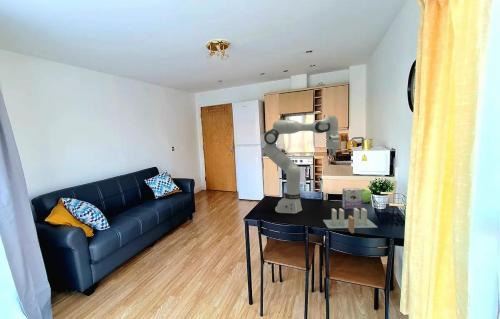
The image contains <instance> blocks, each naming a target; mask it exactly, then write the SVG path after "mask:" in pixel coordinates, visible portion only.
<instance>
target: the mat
mask: <svg viewBox="0 0 500 319" xmlns="http://www.w3.org/2000/svg"><path fill="white" fill-rule="evenodd" d="M322 221H323V223H324V224H325V225H326V227H327V228H328V229H348V218H346V219H345V218H344V225H341V224H340V223H339V219H337V225H333V223H332V219H323V220H322ZM358 228H359V229H360V228H361V229H363V228H364V229H366V228H378V226H377V225H376V224H375V223H374V222H372V221H371V220H370V219H369V218H367V225H364V224H363V223H362V222H361V218H359V225H356V224H355V223H354V229H358Z"/></svg>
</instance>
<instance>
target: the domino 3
mask: <svg viewBox="0 0 500 319" xmlns="http://www.w3.org/2000/svg"><path fill="white" fill-rule="evenodd" d="M347 219H348V228H347V230H348V232H350V234H355V228H354V216H352V215H348V218H347Z"/></svg>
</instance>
